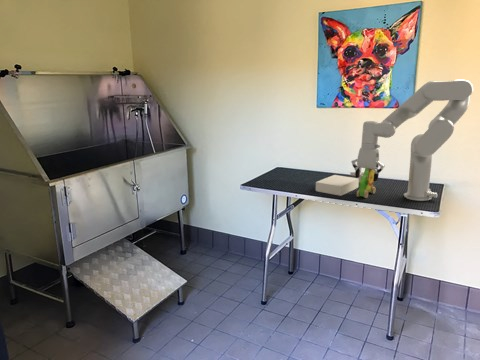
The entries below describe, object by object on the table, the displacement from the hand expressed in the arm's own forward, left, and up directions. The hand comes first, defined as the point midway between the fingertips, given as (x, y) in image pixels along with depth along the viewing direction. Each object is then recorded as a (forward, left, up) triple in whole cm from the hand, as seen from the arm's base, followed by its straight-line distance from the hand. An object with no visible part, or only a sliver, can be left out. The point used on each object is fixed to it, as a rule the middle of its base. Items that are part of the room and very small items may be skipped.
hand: (366, 179), depth 204 cm
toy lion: (-1, 0, -9) cm, 9 cm away
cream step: (+16, 0, -8) cm, 18 cm away
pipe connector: (+13, -20, -9) cm, 26 cm away
